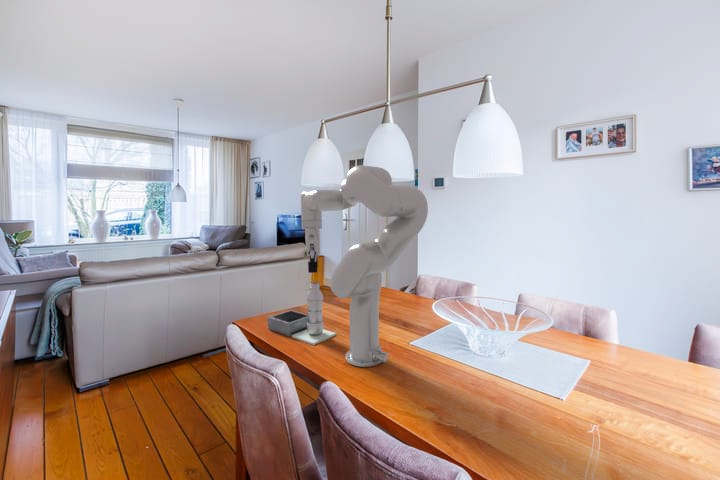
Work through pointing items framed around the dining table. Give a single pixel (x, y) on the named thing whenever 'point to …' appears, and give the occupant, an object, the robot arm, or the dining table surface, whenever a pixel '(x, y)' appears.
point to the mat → (313, 336)
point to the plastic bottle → (314, 309)
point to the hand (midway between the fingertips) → (313, 270)
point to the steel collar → (288, 322)
